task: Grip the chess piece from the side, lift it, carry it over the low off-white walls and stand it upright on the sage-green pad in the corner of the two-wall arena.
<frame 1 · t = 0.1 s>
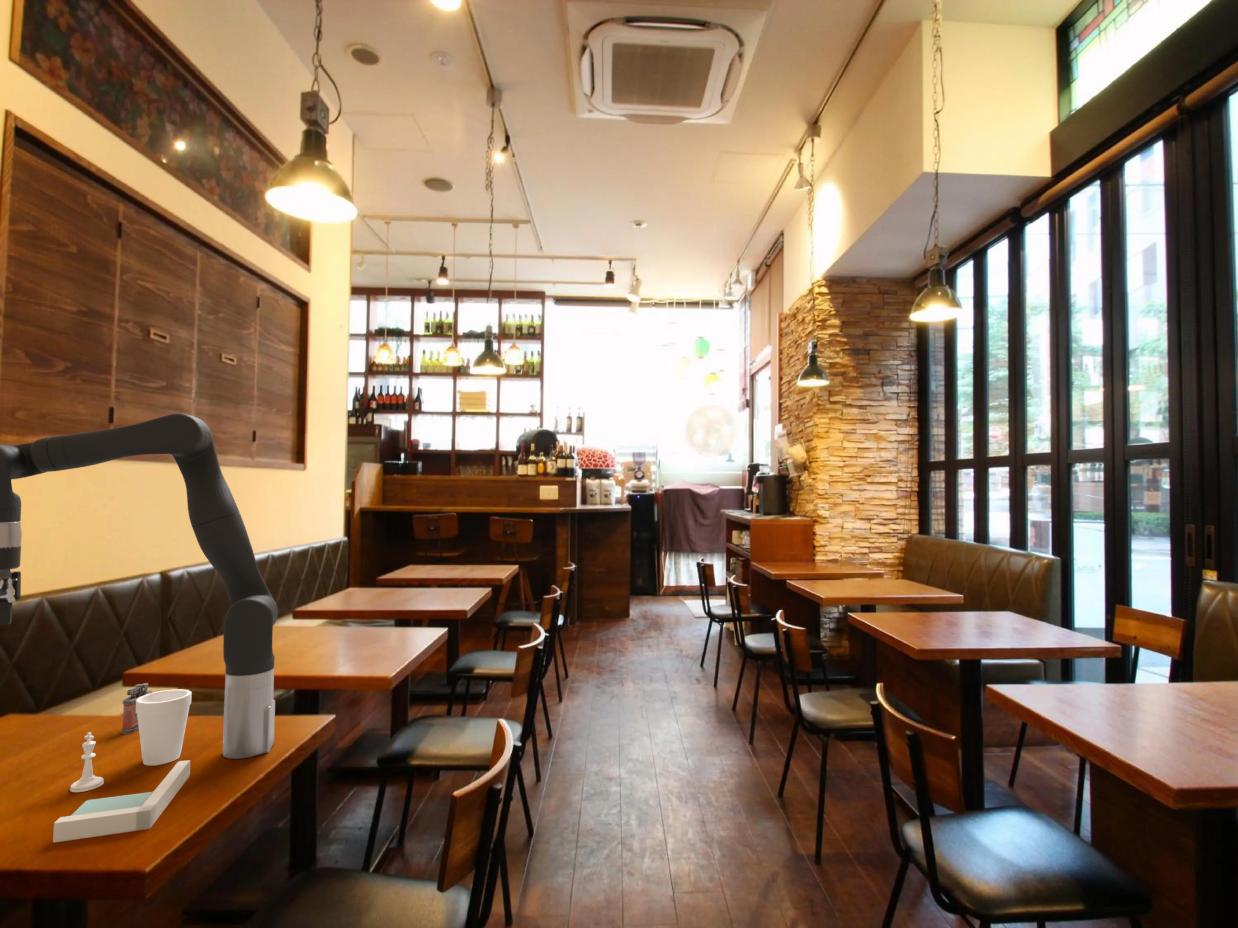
chess piece: (87, 787, 119), on the table
arena: (108, 811, 110), on the table
foam cup: (161, 759, 132), on the table
lighter: (136, 728, 149), on the table
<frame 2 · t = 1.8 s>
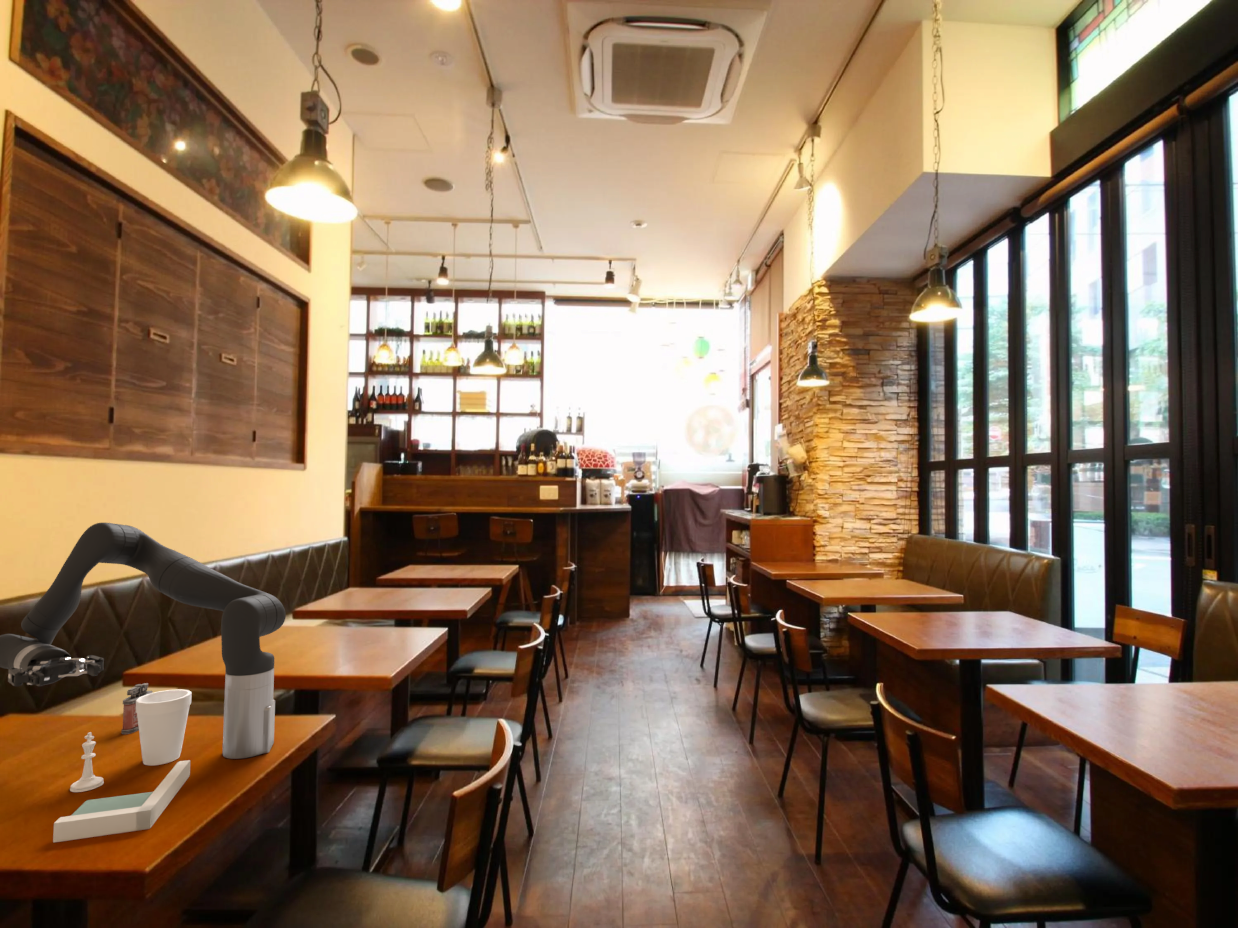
hand: (70, 675, 126), 19 cm above the table, tool horizontal, fingers open, 8 cm apart
nothing on the table moved.
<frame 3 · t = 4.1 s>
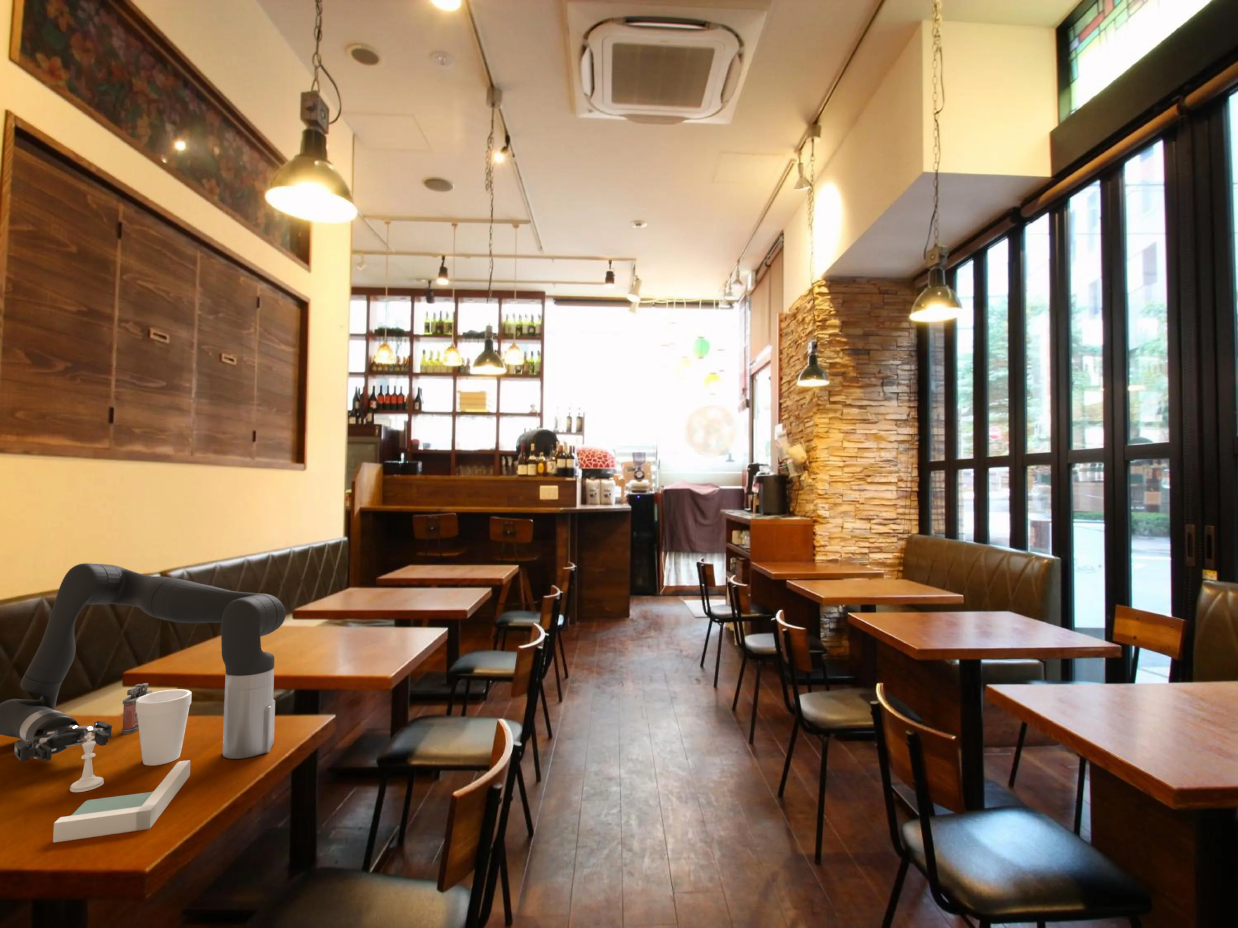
hand: (77, 747, 123), 6 cm above the table, tool horizontal, fingers open, 8 cm apart
nothing on the table moved.
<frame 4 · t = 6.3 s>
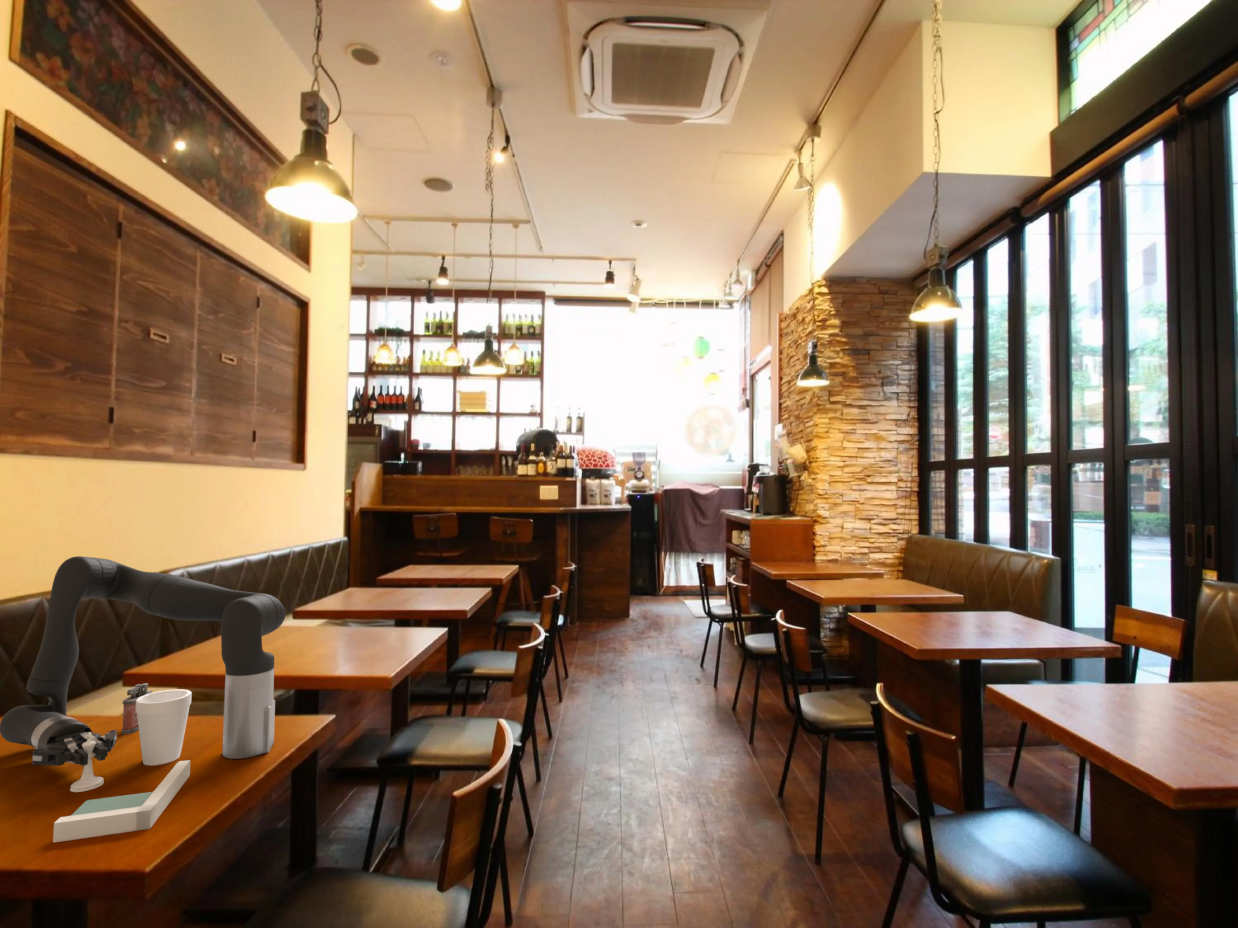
hand: (94, 757, 118), 6 cm above the table, tool horizontal, fingers closed on chess piece
chess piece: (87, 787, 119), on the table, touching gripper
everything else where it was.
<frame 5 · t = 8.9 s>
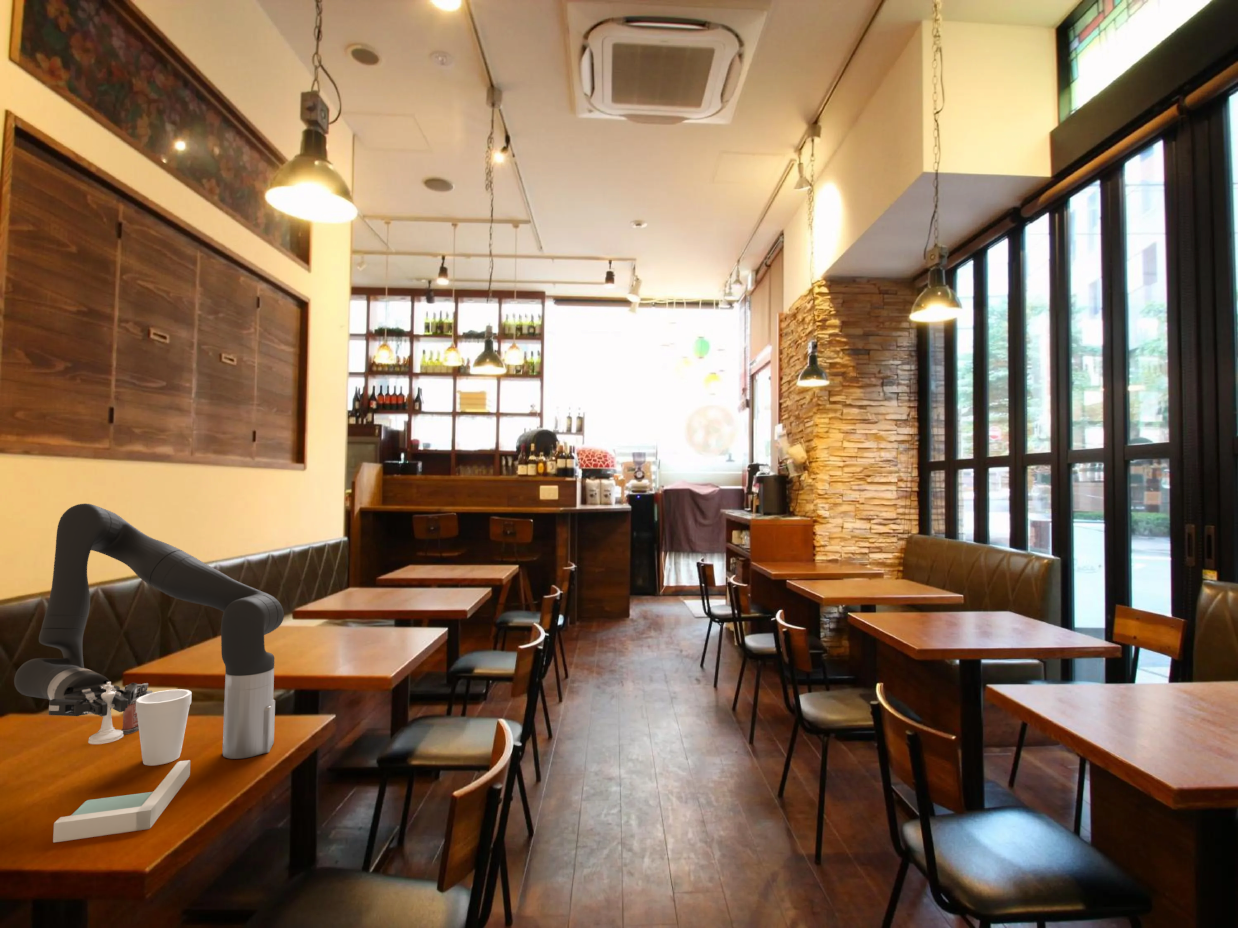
hand: (114, 707, 111), 18 cm above the table, tool horizontal, fingers closed on chess piece
chess piece: (106, 739, 112), point 12 cm above the table, touching gripper
everything else where it was.
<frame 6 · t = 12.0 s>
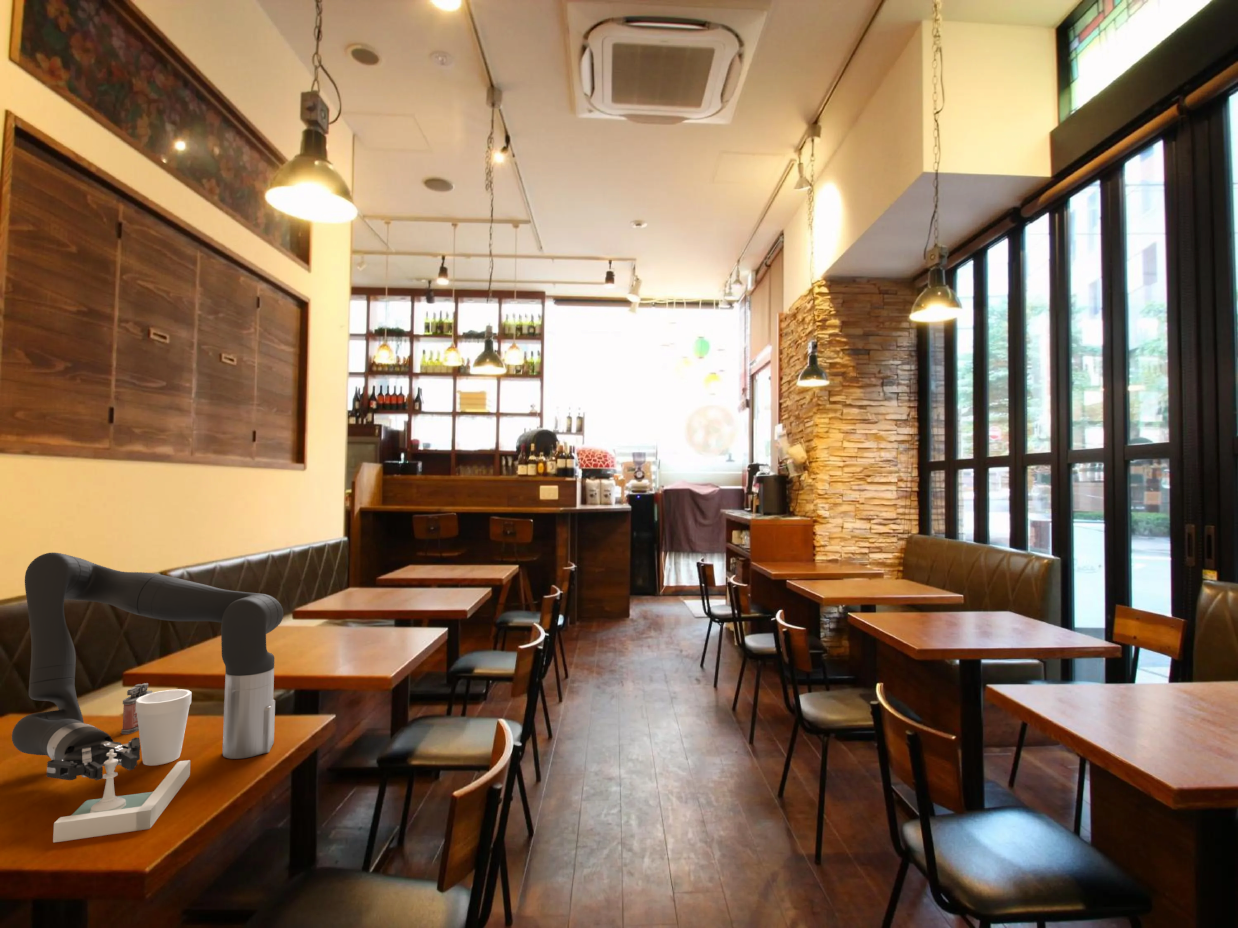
hand: (116, 768, 109), 8 cm above the table, tool horizontal, fingers open, 4 cm apart
chess piece: (108, 809, 110), resting on arena
everything else where it was.
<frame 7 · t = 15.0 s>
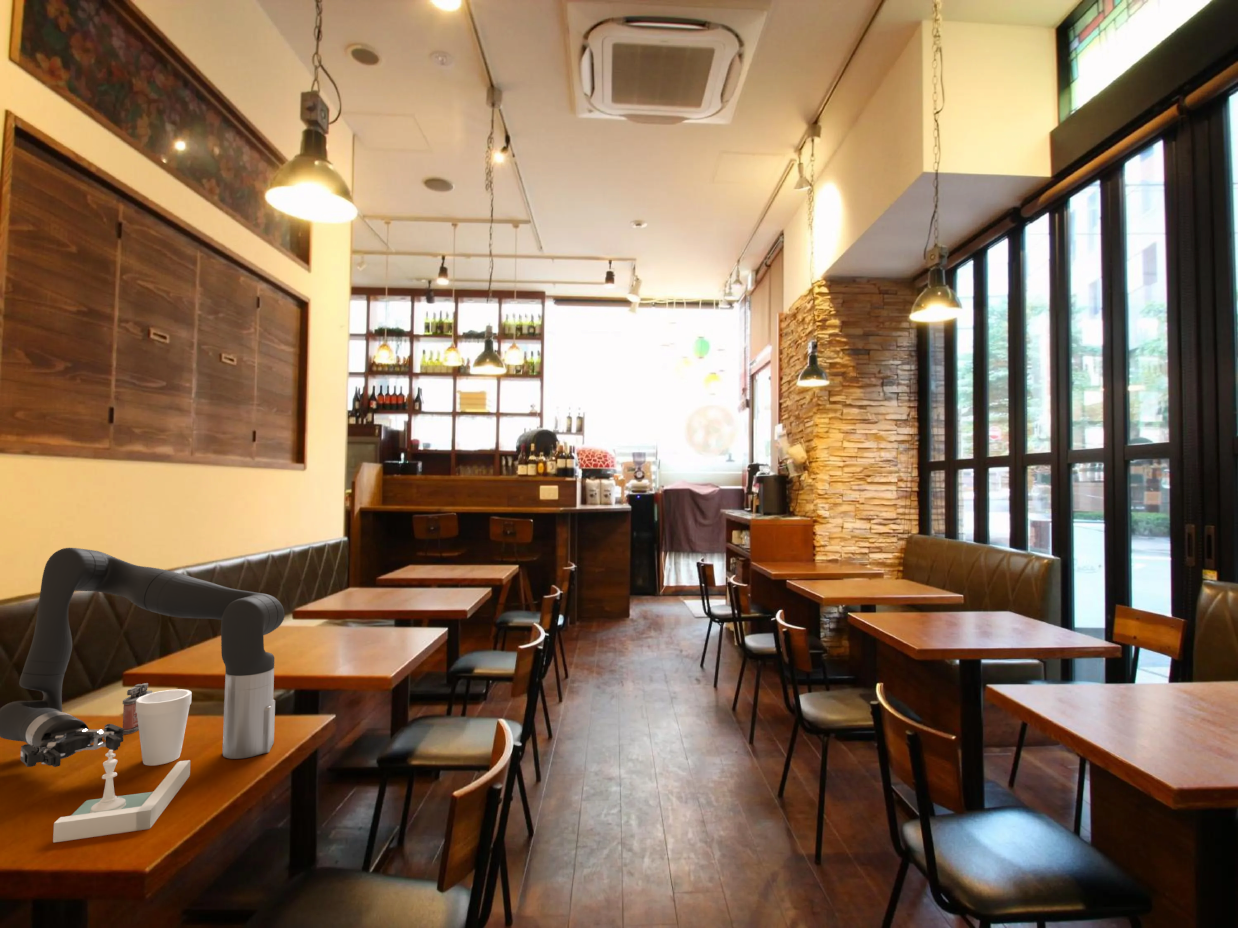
hand: (88, 752, 115), 8 cm above the table, tool horizontal, fingers open, 8 cm apart
nothing on the table moved.
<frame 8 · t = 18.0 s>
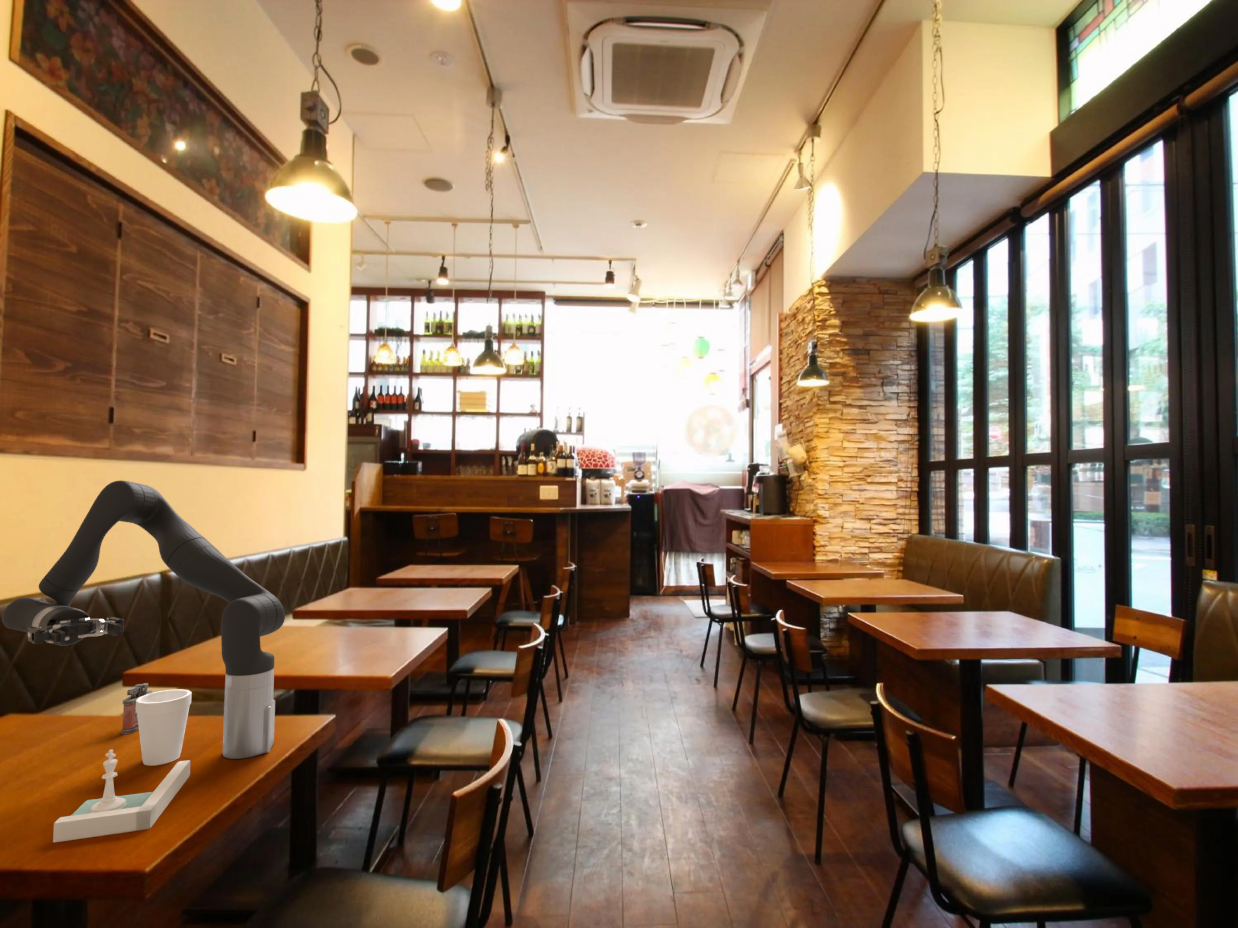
hand: (90, 633, 123), 28 cm above the table, tool horizontal, fingers open, 8 cm apart
nothing on the table moved.
at the end: chess piece inside the target area on the arena (0.1 cm from its centre), point 0.3 cm above the arena's base; chess piece tilted 0°; the gripper is holding nothing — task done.
